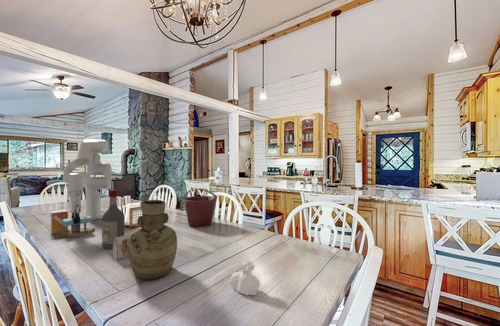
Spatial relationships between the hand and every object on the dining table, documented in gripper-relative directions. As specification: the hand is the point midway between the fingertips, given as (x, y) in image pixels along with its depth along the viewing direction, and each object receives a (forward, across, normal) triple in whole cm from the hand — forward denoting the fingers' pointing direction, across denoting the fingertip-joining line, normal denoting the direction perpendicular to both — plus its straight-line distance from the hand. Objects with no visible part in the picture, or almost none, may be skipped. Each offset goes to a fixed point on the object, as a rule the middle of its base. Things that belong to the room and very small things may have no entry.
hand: (75, 222), depth 143 cm
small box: (+7, -12, -7) cm, 15 cm away
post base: (+7, 0, 0) cm, 7 cm away
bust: (+7, +115, +35) cm, 121 cm away
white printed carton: (+7, +55, +11) cm, 56 cm away
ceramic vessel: (+7, +80, +15) cm, 82 cm away
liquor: (+7, +37, +11) cm, 39 cm away
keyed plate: (+1, 0, 0) cm, 1 cm away
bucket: (+7, +33, +68) cm, 76 cm away
